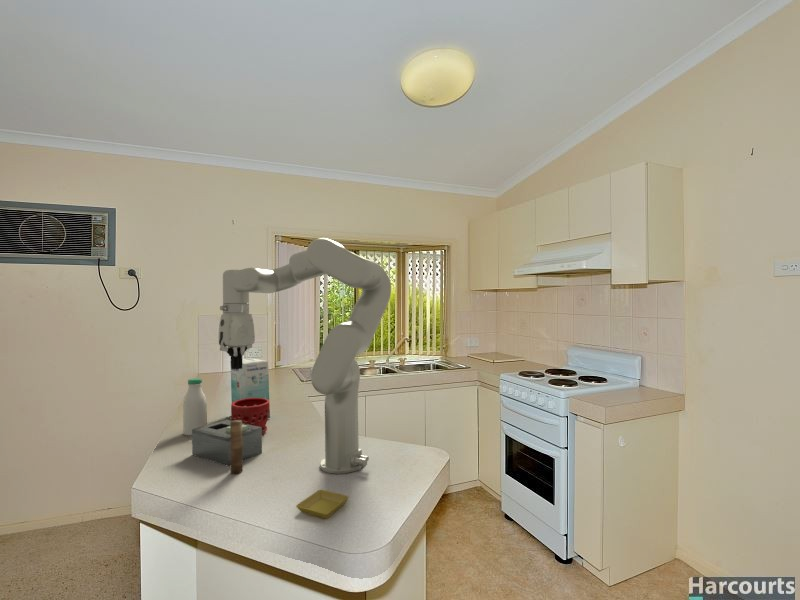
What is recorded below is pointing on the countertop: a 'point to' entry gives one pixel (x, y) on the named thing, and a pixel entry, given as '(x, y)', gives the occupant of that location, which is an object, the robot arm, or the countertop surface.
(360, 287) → the robot arm
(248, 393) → the toothbrush box
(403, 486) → the countertop surface
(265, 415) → the plant pot
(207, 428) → the grey box
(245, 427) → the on button
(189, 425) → the milk bottle
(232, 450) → the stylus dowel
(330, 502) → the olive square dish
